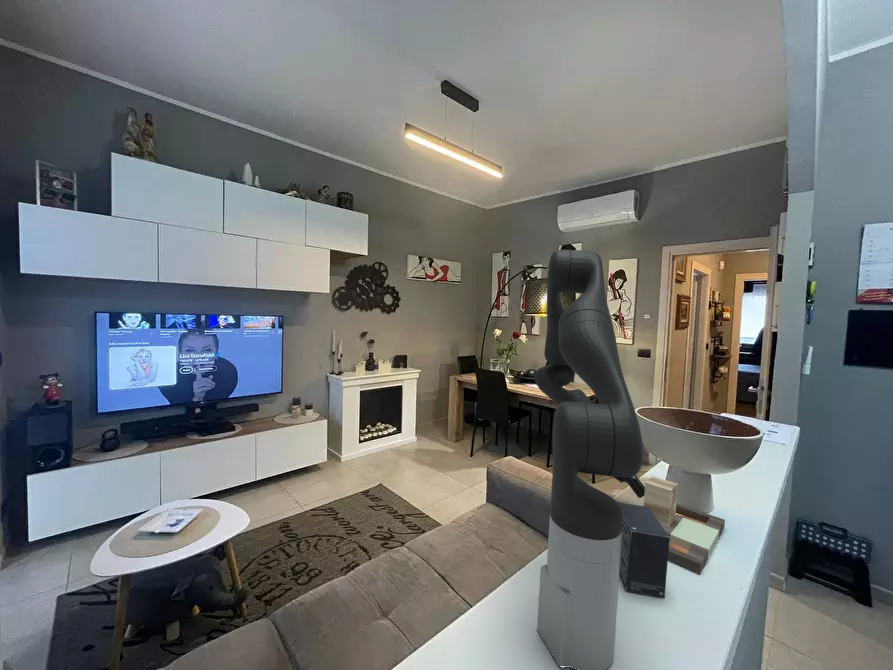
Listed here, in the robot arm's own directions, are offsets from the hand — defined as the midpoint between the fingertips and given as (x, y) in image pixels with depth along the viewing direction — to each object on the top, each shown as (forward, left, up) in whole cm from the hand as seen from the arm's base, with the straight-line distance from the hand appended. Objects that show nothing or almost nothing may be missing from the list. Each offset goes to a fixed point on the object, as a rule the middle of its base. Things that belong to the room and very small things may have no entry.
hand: (644, 495), depth 83 cm
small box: (-15, -15, -6) cm, 22 cm away
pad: (+5, -9, -6) cm, 12 cm away
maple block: (+2, -3, -4) cm, 5 cm away
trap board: (+3, -6, -6) cm, 9 cm away
